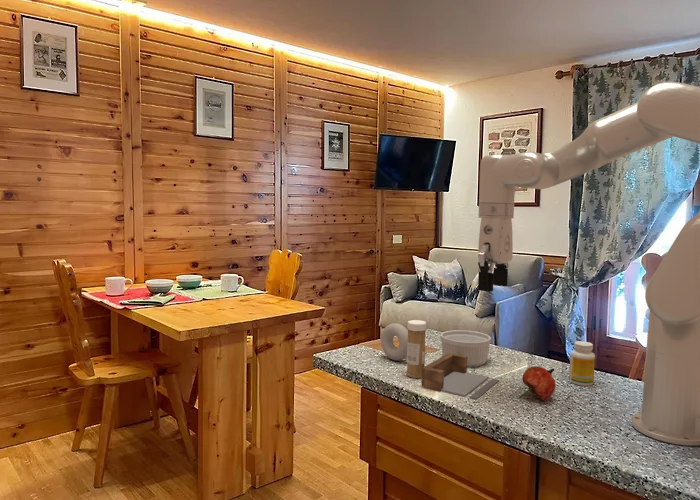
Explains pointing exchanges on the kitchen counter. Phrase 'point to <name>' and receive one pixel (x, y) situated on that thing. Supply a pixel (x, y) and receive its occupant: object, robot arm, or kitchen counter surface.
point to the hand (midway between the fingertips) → (493, 288)
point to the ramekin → (467, 345)
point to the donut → (388, 343)
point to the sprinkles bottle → (416, 348)
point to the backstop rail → (442, 370)
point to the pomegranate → (539, 382)
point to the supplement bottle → (582, 364)
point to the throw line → (484, 389)
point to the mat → (462, 383)
